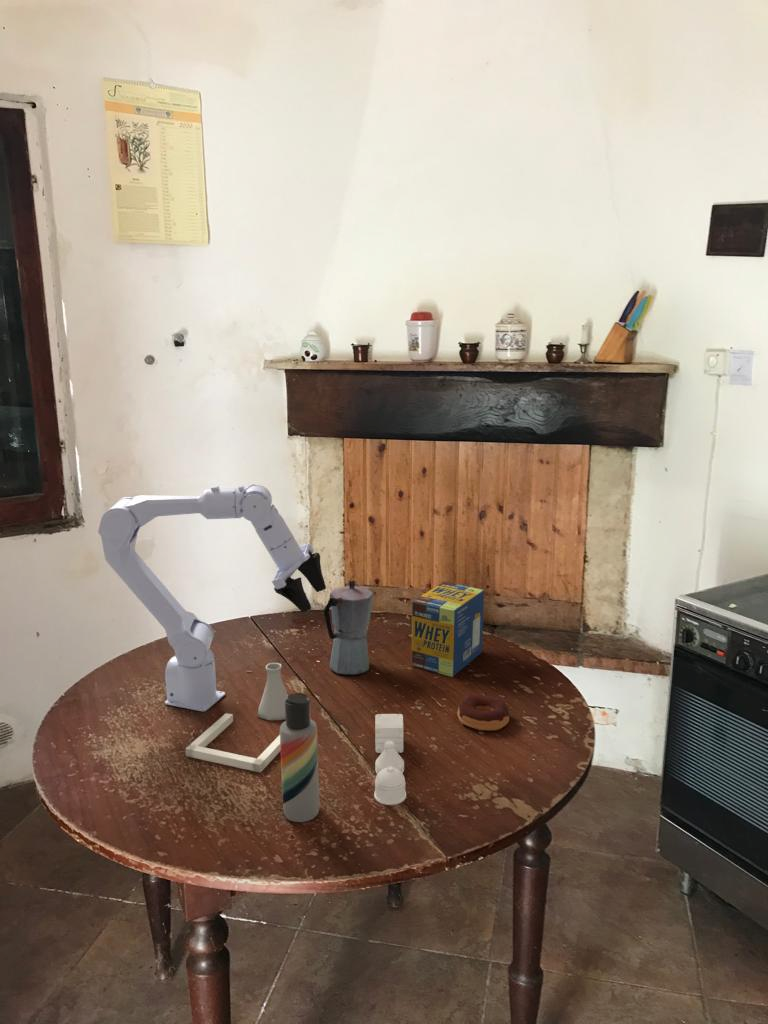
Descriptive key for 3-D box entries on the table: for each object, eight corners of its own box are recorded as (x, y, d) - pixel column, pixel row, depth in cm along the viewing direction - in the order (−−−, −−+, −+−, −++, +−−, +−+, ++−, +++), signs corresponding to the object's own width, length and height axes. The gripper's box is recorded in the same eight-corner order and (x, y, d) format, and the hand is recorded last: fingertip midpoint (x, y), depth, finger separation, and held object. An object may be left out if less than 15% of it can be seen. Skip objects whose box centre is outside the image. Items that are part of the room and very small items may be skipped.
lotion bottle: (283, 802, 129) (279, 688, 124) (319, 800, 129) (316, 687, 124) (282, 824, 123) (277, 706, 118) (319, 822, 124) (316, 705, 119)
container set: (374, 740, 148) (374, 713, 146) (403, 740, 148) (403, 713, 146) (374, 806, 128) (373, 776, 127) (406, 806, 128) (406, 775, 127)
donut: (519, 720, 154) (520, 701, 153) (489, 740, 147) (490, 720, 146) (477, 703, 161) (477, 685, 160) (446, 721, 154) (446, 702, 153)
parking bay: (186, 756, 142) (185, 748, 142) (226, 720, 155) (225, 713, 154) (260, 772, 137) (260, 764, 137) (296, 734, 149) (295, 726, 149)
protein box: (410, 667, 177) (410, 601, 173) (443, 642, 190) (444, 580, 186) (453, 678, 172) (454, 610, 168) (483, 652, 184) (485, 588, 180)
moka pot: (386, 660, 180) (386, 576, 175) (347, 687, 167) (345, 597, 162) (351, 651, 185) (350, 569, 180) (310, 676, 172) (308, 589, 167)
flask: (287, 723, 153) (285, 675, 151) (251, 720, 155) (249, 672, 152) (298, 705, 160) (297, 659, 158) (264, 702, 162) (262, 656, 159)
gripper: (279, 554, 147) (316, 614, 151) (310, 519, 159) (343, 576, 163) (251, 565, 150) (287, 623, 154) (283, 530, 163) (316, 585, 166)
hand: (314, 599), depth 159 cm, fingers open, 7 cm apart
